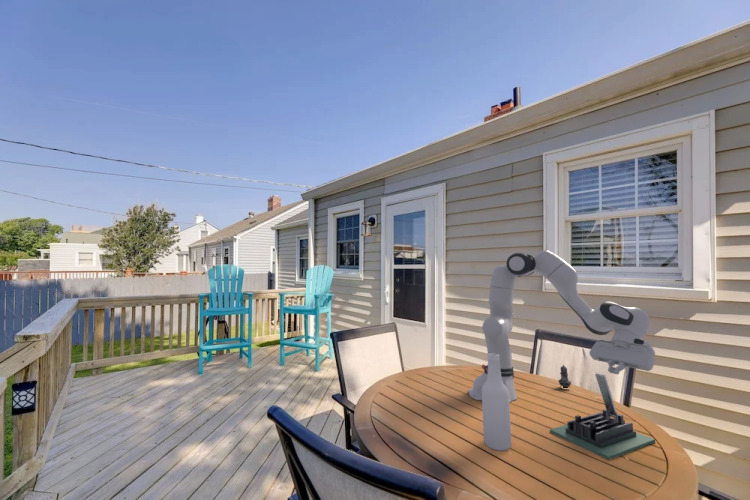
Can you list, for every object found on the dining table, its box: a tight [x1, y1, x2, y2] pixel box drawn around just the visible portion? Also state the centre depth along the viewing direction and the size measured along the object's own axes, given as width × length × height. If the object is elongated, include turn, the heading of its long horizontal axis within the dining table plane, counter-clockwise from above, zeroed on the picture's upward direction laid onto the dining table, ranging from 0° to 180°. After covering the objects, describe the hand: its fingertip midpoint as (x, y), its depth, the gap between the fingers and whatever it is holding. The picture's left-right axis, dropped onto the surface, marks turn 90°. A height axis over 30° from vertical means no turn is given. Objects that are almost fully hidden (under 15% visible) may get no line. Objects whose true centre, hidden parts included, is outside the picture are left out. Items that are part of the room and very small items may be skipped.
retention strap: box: [594, 373, 618, 419], centre depth 114 cm, size 17×3×1 cm
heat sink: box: [565, 408, 637, 448], centre depth 111 cm, size 20×12×6 cm, turn 114°
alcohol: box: [481, 353, 512, 452], centre depth 107 cm, size 9×9×30 cm
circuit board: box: [549, 424, 656, 461], centre depth 111 cm, size 26×20×1 cm
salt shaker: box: [557, 364, 572, 388], centre depth 162 cm, size 6×6×12 cm
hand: (612, 372), depth 117 cm, fingers closed
